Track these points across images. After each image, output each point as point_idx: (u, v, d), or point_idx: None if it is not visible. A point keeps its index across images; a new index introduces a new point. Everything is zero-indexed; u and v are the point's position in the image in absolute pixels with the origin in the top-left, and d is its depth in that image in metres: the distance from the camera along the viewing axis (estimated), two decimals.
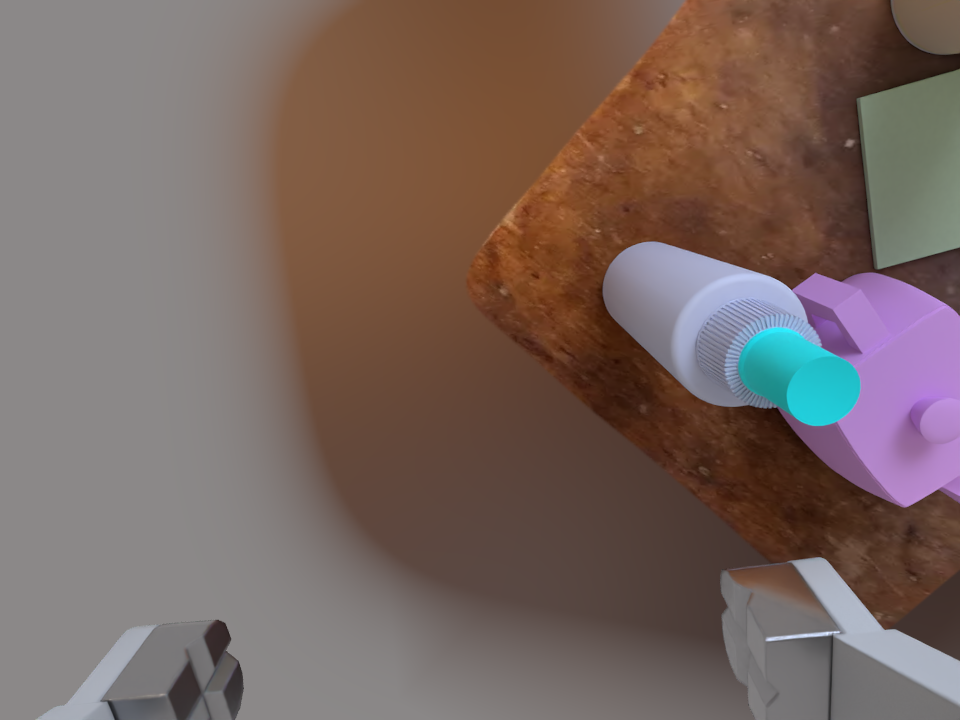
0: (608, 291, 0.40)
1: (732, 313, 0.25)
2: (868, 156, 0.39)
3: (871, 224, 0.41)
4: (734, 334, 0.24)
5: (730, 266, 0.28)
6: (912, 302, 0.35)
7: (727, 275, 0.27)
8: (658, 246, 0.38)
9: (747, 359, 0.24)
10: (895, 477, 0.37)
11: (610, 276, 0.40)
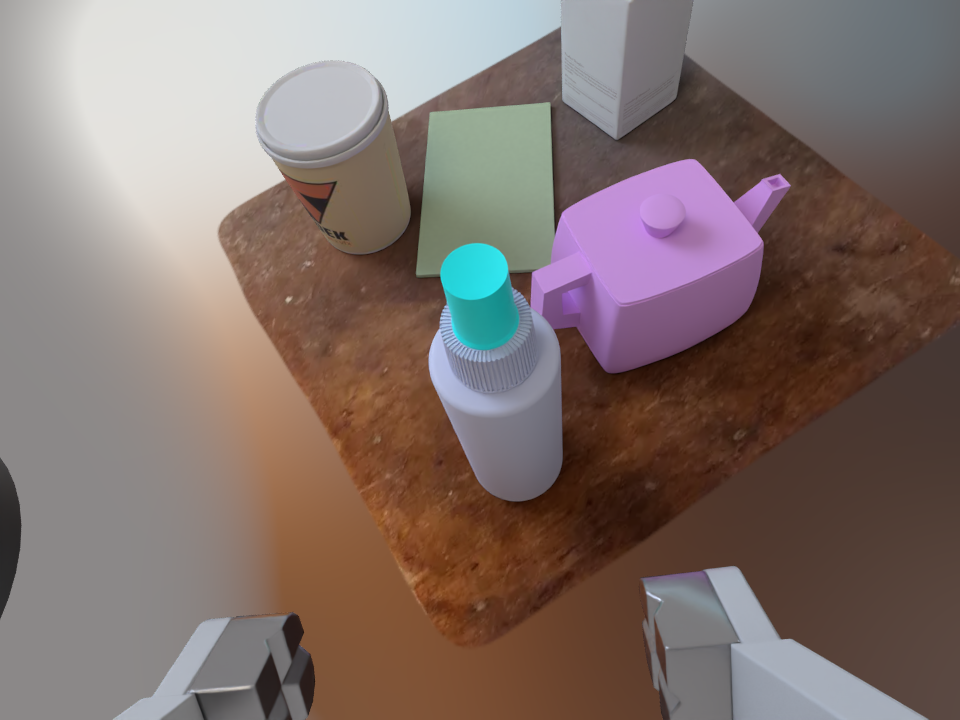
0: (500, 492, 0.39)
1: (447, 354, 0.27)
2: None
3: (516, 271, 0.48)
4: (449, 350, 0.25)
5: None
6: (560, 237, 0.41)
7: (429, 359, 0.29)
8: None
9: (468, 340, 0.25)
10: (726, 250, 0.37)
11: (488, 487, 0.39)
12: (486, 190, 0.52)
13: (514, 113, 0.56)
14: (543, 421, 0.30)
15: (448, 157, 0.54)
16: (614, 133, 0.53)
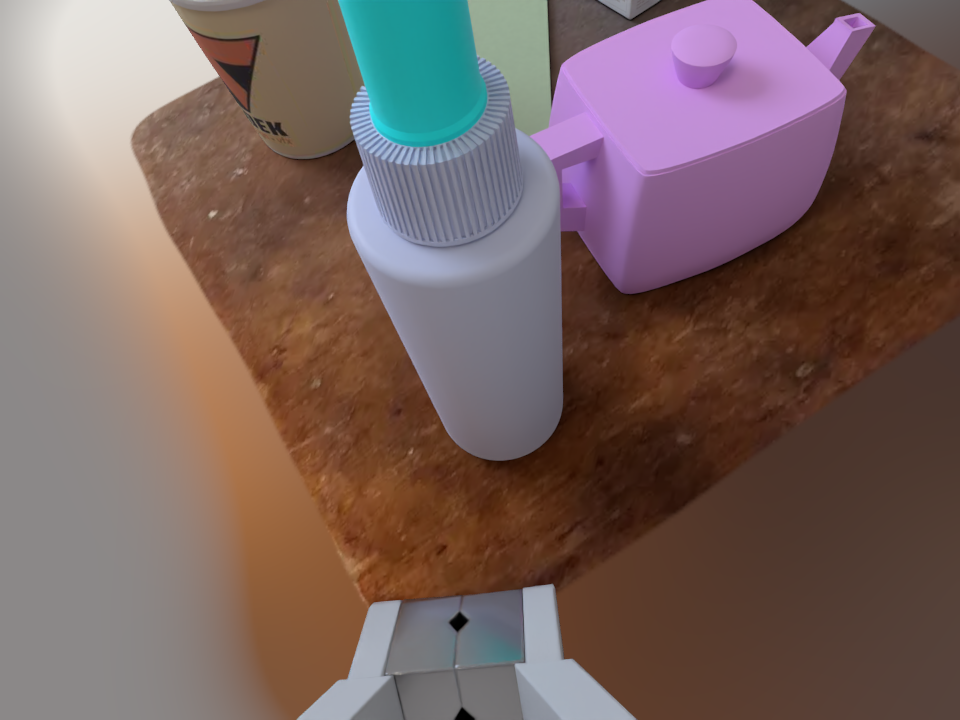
0: (476, 445, 0.28)
1: None
2: None
3: None
4: (365, 153, 0.14)
5: None
6: (560, 101, 0.30)
7: None
8: None
9: (395, 124, 0.14)
10: (794, 100, 0.26)
11: (460, 440, 0.28)
12: None
13: None
14: (533, 311, 0.19)
15: None
16: (626, 10, 0.42)
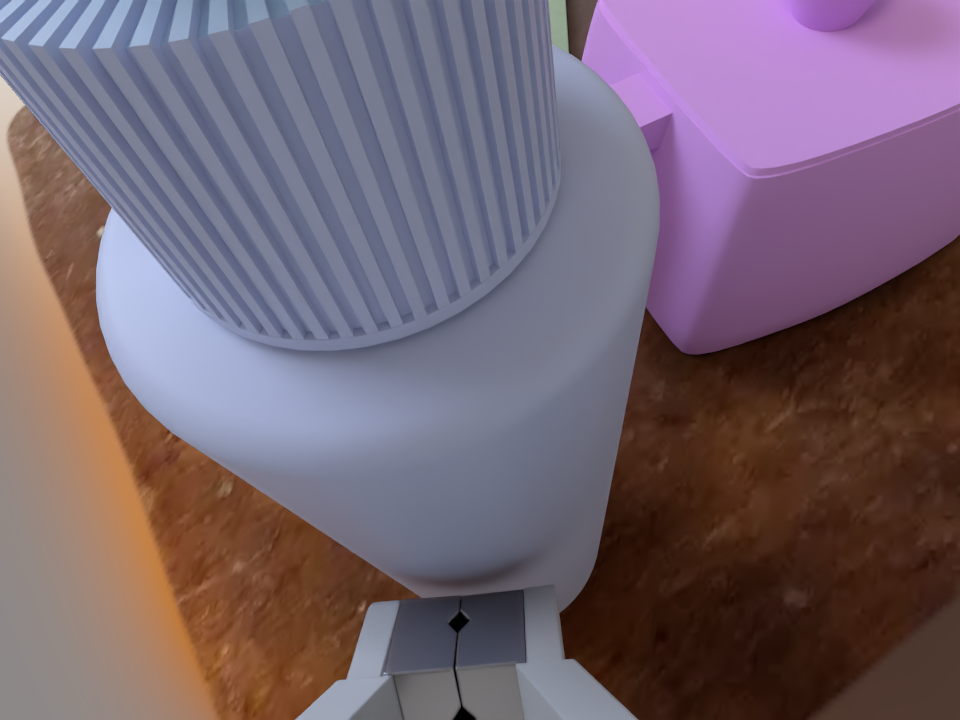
0: None
1: None
2: None
3: None
4: None
5: None
6: (593, 60, 0.19)
7: None
8: None
9: None
10: None
11: None
12: None
13: None
14: (577, 475, 0.08)
15: None
16: None
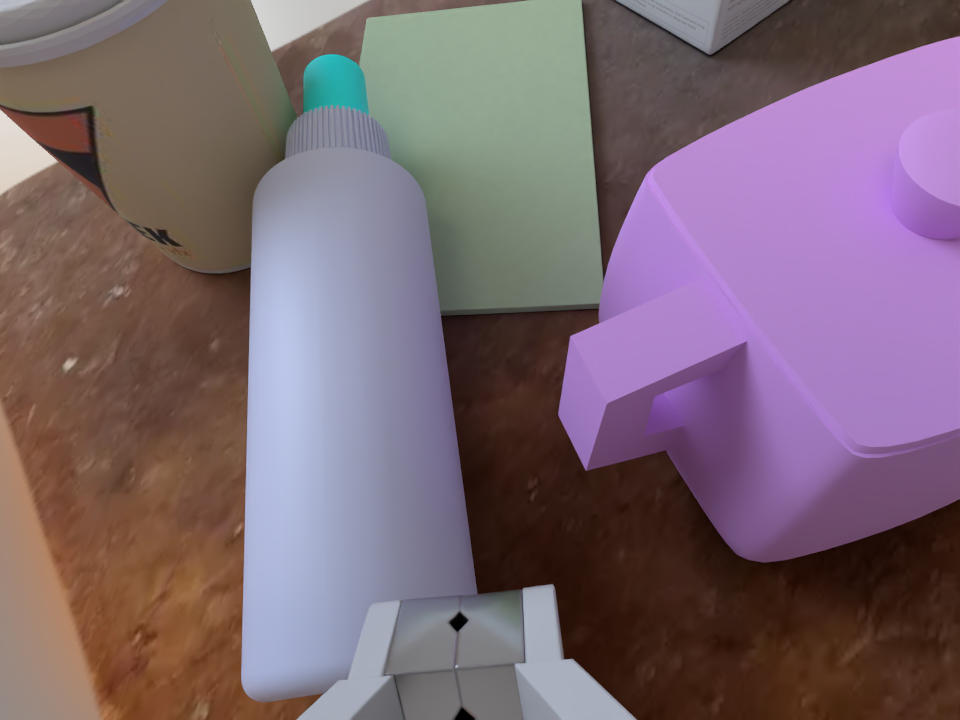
0: None
1: None
2: None
3: (522, 309, 0.23)
4: None
5: None
6: (639, 237, 0.16)
7: None
8: None
9: None
10: None
11: None
12: (464, 148, 0.27)
13: (516, 14, 0.31)
14: (273, 238, 0.19)
15: (395, 91, 0.29)
16: (706, 41, 0.28)
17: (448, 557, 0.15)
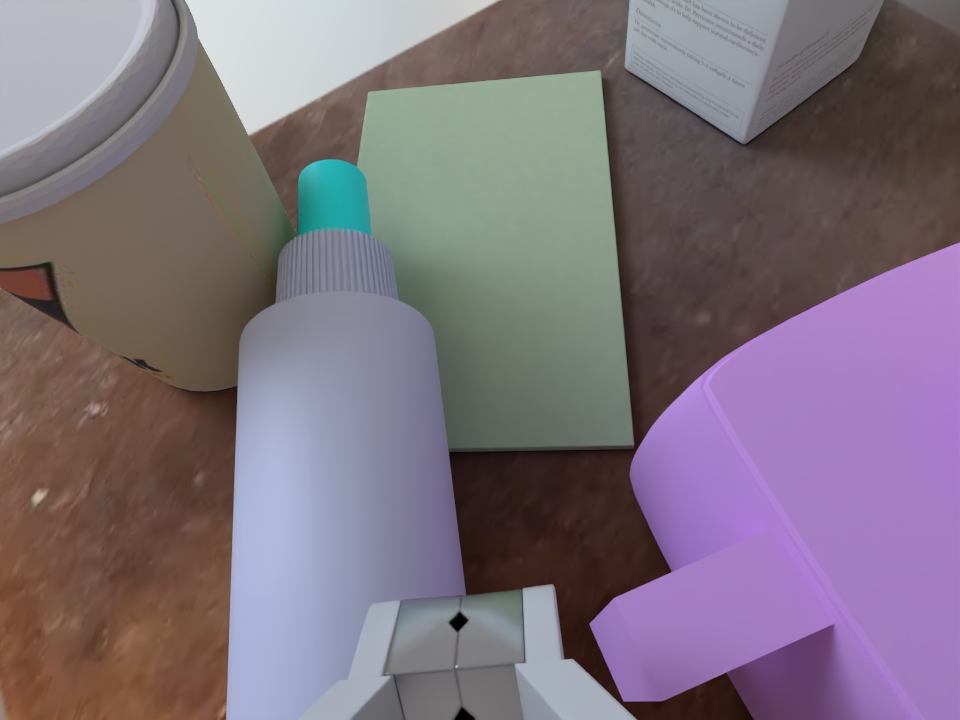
0: None
1: None
2: None
3: (541, 448, 0.21)
4: None
5: None
6: (689, 441, 0.13)
7: None
8: None
9: None
10: None
11: None
12: (474, 250, 0.25)
13: (530, 92, 0.28)
14: (261, 405, 0.16)
15: (398, 180, 0.27)
16: (740, 131, 0.25)
17: None
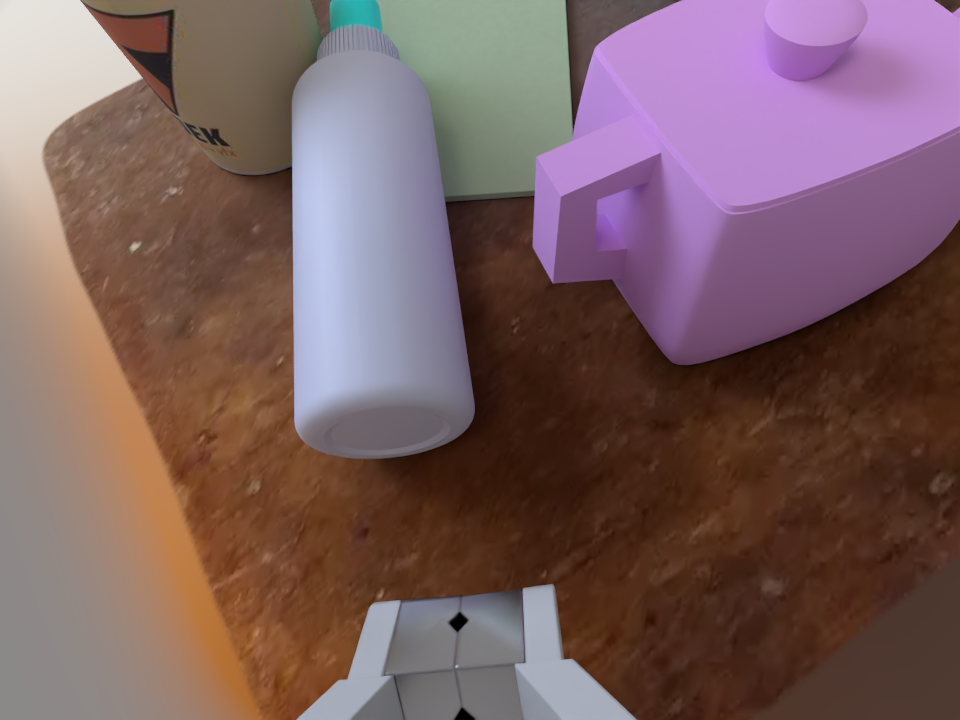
0: None
1: None
2: None
3: (509, 195, 0.29)
4: None
5: None
6: (591, 99, 0.21)
7: None
8: None
9: None
10: (953, 98, 0.17)
11: None
12: (462, 73, 0.33)
13: None
14: (312, 116, 0.24)
15: (403, 30, 0.35)
16: None
17: (448, 334, 0.21)
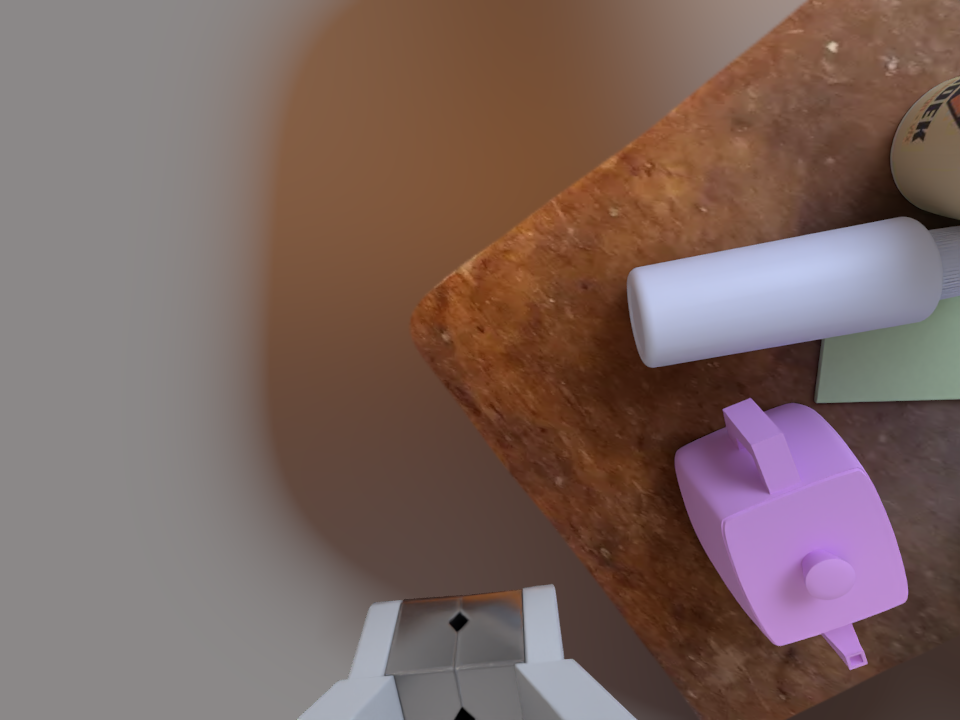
0: (669, 262, 0.36)
1: None
2: None
3: (820, 358, 0.40)
4: None
5: None
6: (832, 455, 0.35)
7: None
8: None
9: None
10: (774, 616, 0.37)
11: None
12: None
13: None
14: (878, 264, 0.33)
15: None
16: None
17: (689, 360, 0.36)
